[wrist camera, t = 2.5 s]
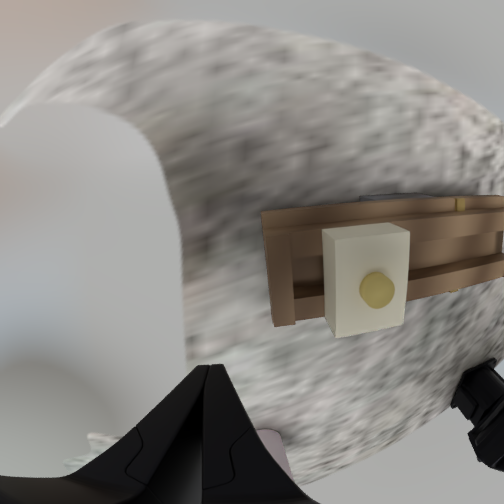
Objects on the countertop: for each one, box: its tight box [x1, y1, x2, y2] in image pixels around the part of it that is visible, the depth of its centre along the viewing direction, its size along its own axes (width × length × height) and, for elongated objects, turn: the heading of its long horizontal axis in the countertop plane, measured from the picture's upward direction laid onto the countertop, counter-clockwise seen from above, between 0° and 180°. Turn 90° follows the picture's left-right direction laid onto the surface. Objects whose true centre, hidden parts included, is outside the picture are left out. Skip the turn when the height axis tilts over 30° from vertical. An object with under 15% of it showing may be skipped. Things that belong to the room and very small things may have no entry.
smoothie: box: [256, 429, 295, 483], centre depth 20 cm, size 6×6×14 cm
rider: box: [322, 222, 410, 338], centre depth 15 cm, size 4×5×5 cm
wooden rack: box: [261, 193, 504, 327], centre depth 18 cm, size 20×7×6 cm, turn 97°
